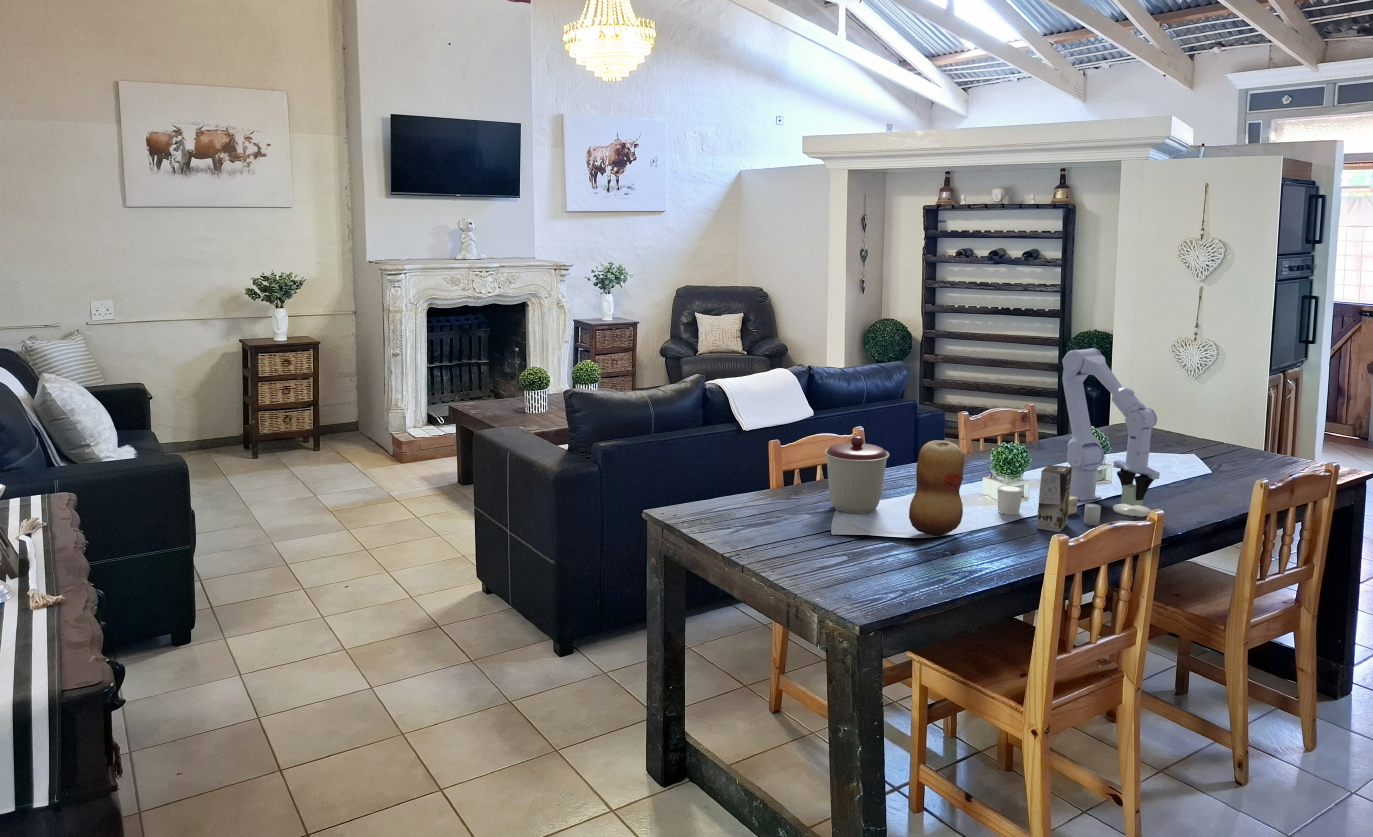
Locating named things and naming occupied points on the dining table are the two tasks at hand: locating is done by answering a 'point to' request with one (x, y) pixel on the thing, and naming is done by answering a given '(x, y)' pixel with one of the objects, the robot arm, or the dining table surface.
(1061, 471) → the coffee box
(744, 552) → the dining table surface
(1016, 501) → the white cup
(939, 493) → the butternut squash
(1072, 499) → the birch cube
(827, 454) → the canister
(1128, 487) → the sage block
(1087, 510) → the grey cylinder
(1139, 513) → the saucer
